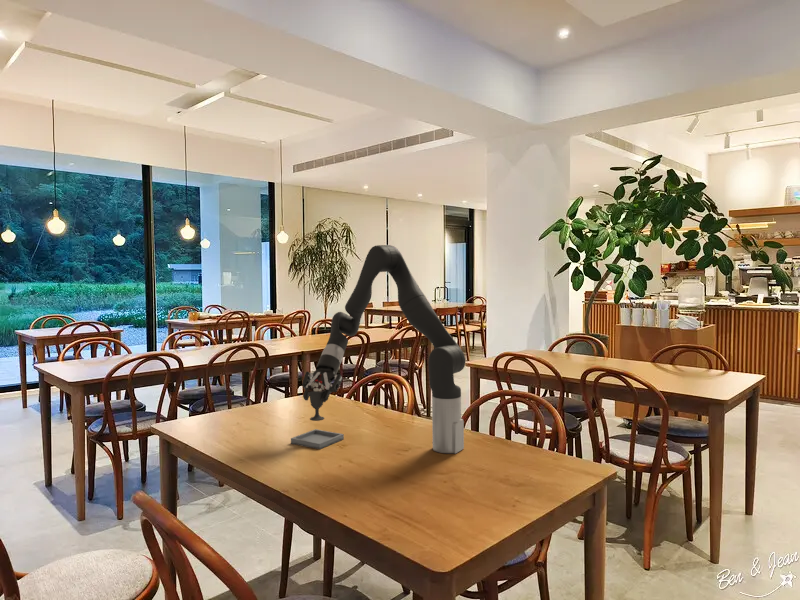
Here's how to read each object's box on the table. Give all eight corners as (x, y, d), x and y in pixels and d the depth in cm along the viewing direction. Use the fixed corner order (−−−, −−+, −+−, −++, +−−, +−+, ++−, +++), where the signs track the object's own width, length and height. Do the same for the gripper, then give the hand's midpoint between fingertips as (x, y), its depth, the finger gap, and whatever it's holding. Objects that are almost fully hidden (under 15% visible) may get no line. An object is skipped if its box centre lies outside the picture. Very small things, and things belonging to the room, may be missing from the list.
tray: (343, 439, 187) (343, 434, 187) (319, 449, 176) (319, 443, 176) (315, 434, 193) (315, 429, 193) (290, 443, 182) (290, 438, 182)
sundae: (328, 416, 188) (328, 373, 187) (324, 421, 181) (323, 377, 180) (310, 416, 188) (309, 373, 187) (305, 421, 181) (304, 376, 181)
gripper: (309, 352, 193) (291, 392, 183) (345, 354, 188) (329, 395, 177) (316, 364, 198) (300, 404, 188) (352, 367, 193) (337, 408, 182)
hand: (314, 400), depth 183 cm, fingers closed on sundae, 6 cm apart
